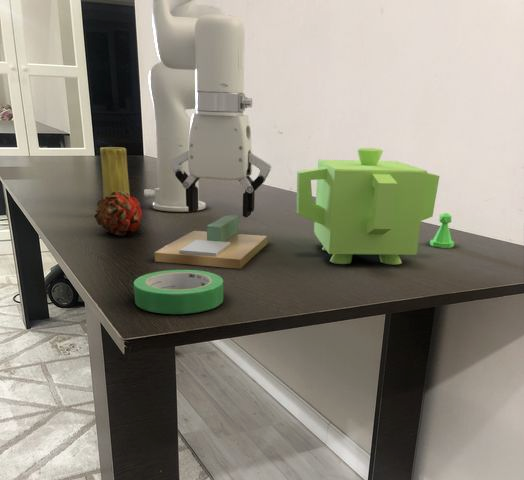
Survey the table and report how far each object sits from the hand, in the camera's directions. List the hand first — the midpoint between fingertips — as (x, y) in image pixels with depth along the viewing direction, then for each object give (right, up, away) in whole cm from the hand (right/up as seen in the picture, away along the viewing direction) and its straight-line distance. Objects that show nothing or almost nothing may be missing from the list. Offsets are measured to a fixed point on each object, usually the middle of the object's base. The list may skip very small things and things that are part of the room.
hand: (219, 213), depth 97 cm
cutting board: (-1, -7, -1) cm, 7 cm away
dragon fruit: (-20, -1, +11) cm, 23 cm away
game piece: (+41, -4, +8) cm, 42 cm away
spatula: (0, -5, -1) cm, 5 cm away
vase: (-24, +5, +26) cm, 36 cm away
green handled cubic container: (+24, -8, -1) cm, 25 cm away
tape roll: (-3, -17, -25) cm, 31 cm away
